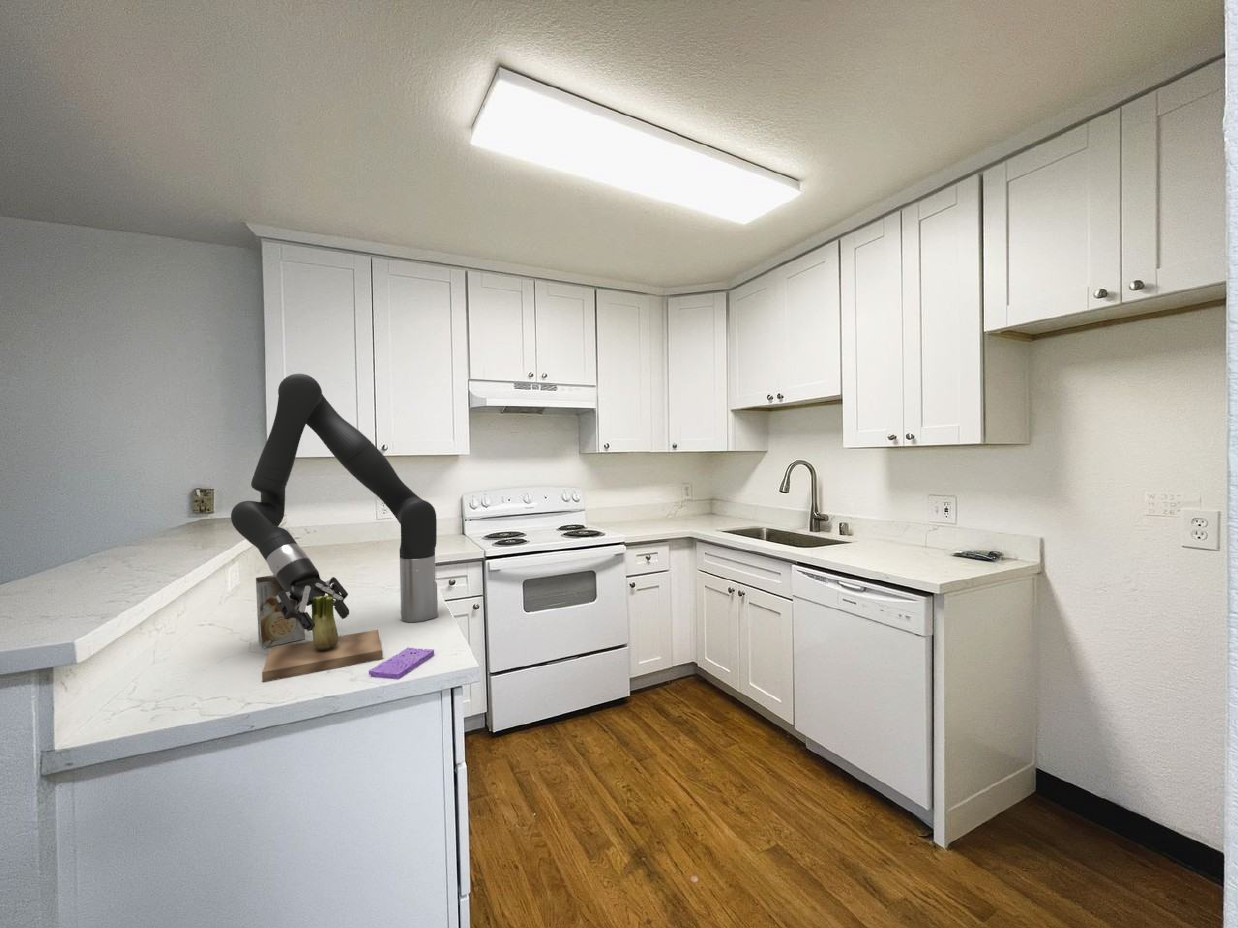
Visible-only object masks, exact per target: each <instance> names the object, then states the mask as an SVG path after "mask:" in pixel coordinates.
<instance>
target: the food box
mask: <svg viewBox="0 0 1238 928" xmlns="http://www.w3.org/2000/svg"><path fill="white" fill-rule="evenodd" d="M255 587H256V588H255V590H256V591H255V592H256V610H257V611H256V612H257V613H256V616H257V635H258V638H257V639H258V643H259V645H260V648H261V649H266V648H271V647H276V646H280V645H285V644H288V643H291V642H297V641H301V640H304V639H306V630H305V629H304V628H303V627H302V626H301V624H300V623H299V621H298V620H297V619H295V618H290V619H288V620H287V619H285V618H284V616H283V614H282V613H281V611H280V609H279V607H278V606H277V604H276V602H275V600H274V599H275V598H276V596H277V595H278V594H279V592H280V591H284V590H283V588H282V587H281V585H280V584H279V582H278V581H277V579H276V578H275V576H274V575H273V574H272V575H266V576H258V577H256V578H255ZM290 601H291V603H292V604H293V606H294V608H295V606H296V601H294V600H292V599H290Z"/></svg>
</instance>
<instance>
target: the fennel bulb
mask: <svg viewBox="0 0 1238 928" xmlns="http://www.w3.org/2000/svg"><path fill="white" fill-rule="evenodd" d="M313 599H315V600H313V601H312V603H311V605H310V606H311V618H312V620H313V621H314V623H315V627H314V628H313V629H312V630H311V631H312V641H313V642H314V646H315V649H316V650H319V651H324V650H328V649H331V648H333V647H334V646H336V644H337V642H338V636H339V633H338V628H337V624H336V620H335V617H334V615H335V614H334V606H333V600H334V599H333V598H332V597H328V594H325V596H323V597H322V596H320V597H314V598H313Z"/></svg>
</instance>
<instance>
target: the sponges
mask: <svg viewBox="0 0 1238 928" xmlns="http://www.w3.org/2000/svg"><path fill="white" fill-rule="evenodd" d="M434 656H435V649H432V648H431V649H429V648H424V649H423V648H416V647H415V648H414V647H409V646H408V647H407V648H405V649H403V650H402V651H400V652H399V653H396V654H395V655H393V656H392V657H390V658H387V659H386V660H385V661H382V662H381V663H380V664H378V665H377V666H374V667H373V668H370V669H369V670H368V676H370V677H371V678H378V679H379V678H381V679H389V680H392V679H393V680H399V679H401V678H403V677H404V676H405V675H407V674H408V673H410V672H411V671H413V670H415V669H416V668H418V667H419V666H421V665H422V664H424V663H426V662H427V661H428V660H430V659H432V658H433V657H434Z"/></svg>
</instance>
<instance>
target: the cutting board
mask: <svg viewBox="0 0 1238 928" xmlns="http://www.w3.org/2000/svg"><path fill="white" fill-rule="evenodd" d="M379 632H380V631H379V629H374V630H368V631H362V632H357V633H349V634H344V635H338V642H337V644H336V646H334V647H333V648H331V649H328V650H324V651H319V650H316V649H315V646H314V642H313V640H307V641H303V642H296V643H295V642H294V643H289V644H282V645H276V646H270V650H269V652H268V656H267V658H266V660H265V663H264V666H263V669H262V671H261V679H262V680H261V681H262V683H264V682H263V681H265V682H268V681H267V680H270V681H273V680H272V679H275V680H278V679H277V678H280V679H284V678H290V677H295V676H300V675H305V674H311V673H315V672H321V671H327V670H332V669H336V668H337V669H338V668H342V667H346V666H352V665H358V664H362V663H363V664H364V663H367V662H368V663H369V662H374V661H379V660H383V647H382V642H381V638H380V633H379Z"/></svg>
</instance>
